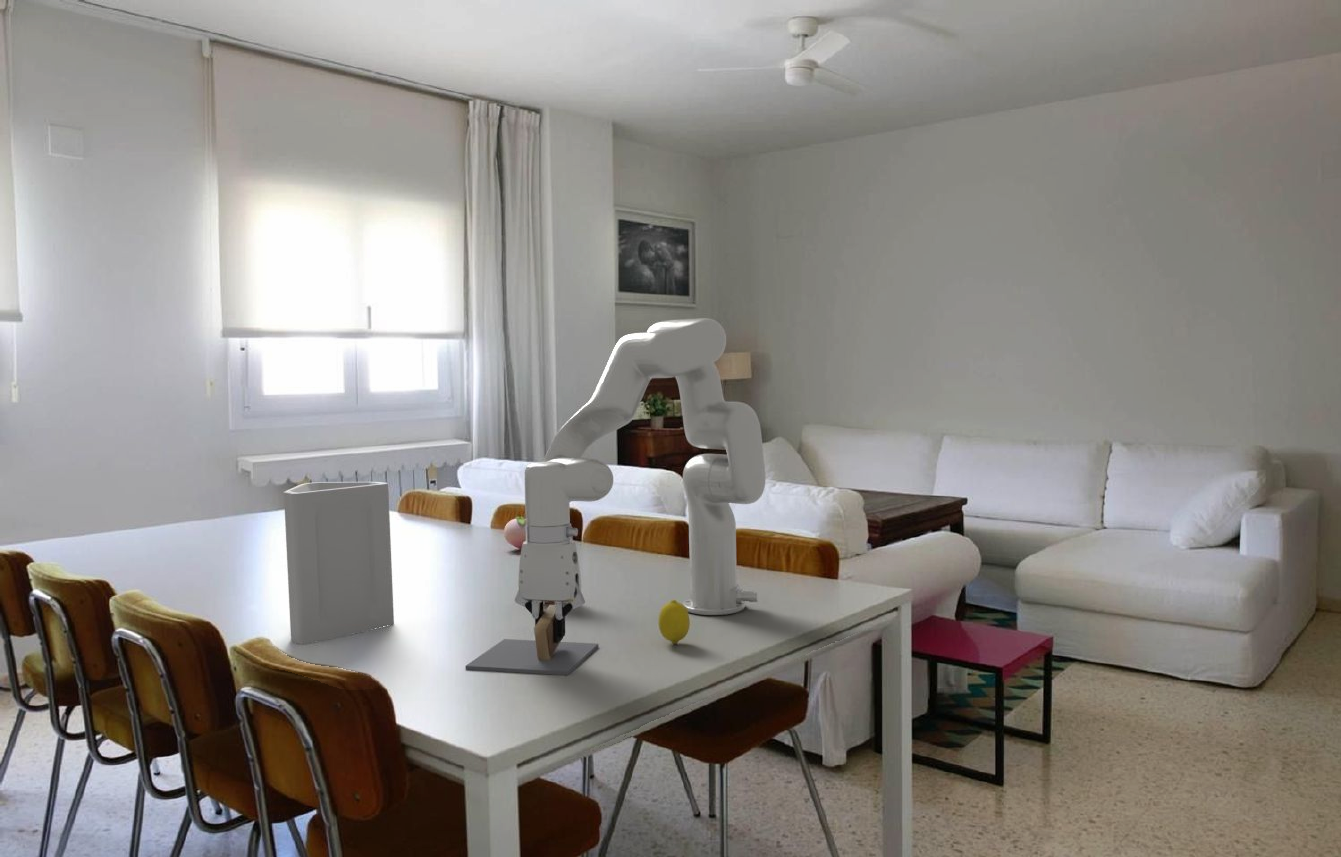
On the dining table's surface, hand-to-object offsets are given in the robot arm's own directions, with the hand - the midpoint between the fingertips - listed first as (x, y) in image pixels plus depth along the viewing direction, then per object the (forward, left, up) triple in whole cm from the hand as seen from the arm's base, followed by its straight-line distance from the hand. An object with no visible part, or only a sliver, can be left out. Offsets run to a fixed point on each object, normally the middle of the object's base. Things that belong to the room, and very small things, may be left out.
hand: (550, 639), depth 166 cm
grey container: (+50, -11, -3) cm, 51 cm away
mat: (+3, +1, -3) cm, 4 cm away
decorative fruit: (+44, -91, -3) cm, 101 cm away
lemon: (-19, -11, -3) cm, 23 cm away
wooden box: (0, +4, 0) cm, 4 cm away
